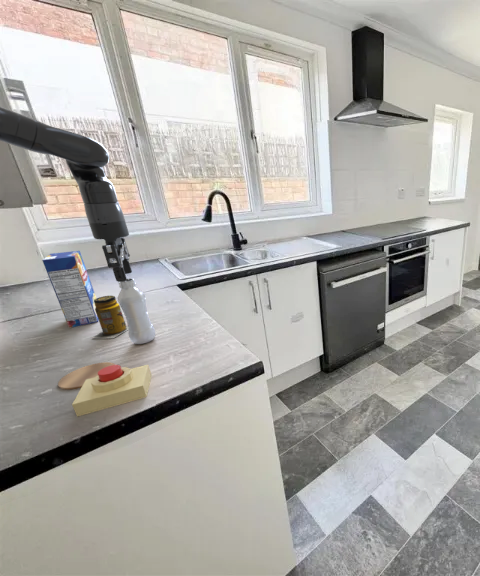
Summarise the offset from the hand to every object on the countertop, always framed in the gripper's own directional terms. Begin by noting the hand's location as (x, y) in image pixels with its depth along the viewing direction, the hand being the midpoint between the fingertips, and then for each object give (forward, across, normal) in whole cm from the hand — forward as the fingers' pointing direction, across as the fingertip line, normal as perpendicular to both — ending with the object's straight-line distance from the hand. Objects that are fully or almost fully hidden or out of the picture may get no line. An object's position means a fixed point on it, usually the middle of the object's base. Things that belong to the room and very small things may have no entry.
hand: (124, 277), depth 89 cm
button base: (+21, +28, -2) cm, 35 cm away
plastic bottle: (+21, 0, 0) cm, 21 cm away
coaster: (+21, +15, -10) cm, 28 cm away
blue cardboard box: (+21, -32, -21) cm, 44 cm away
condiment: (+21, -13, -10) cm, 27 cm away
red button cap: (+16, +28, -2) cm, 32 cm away
